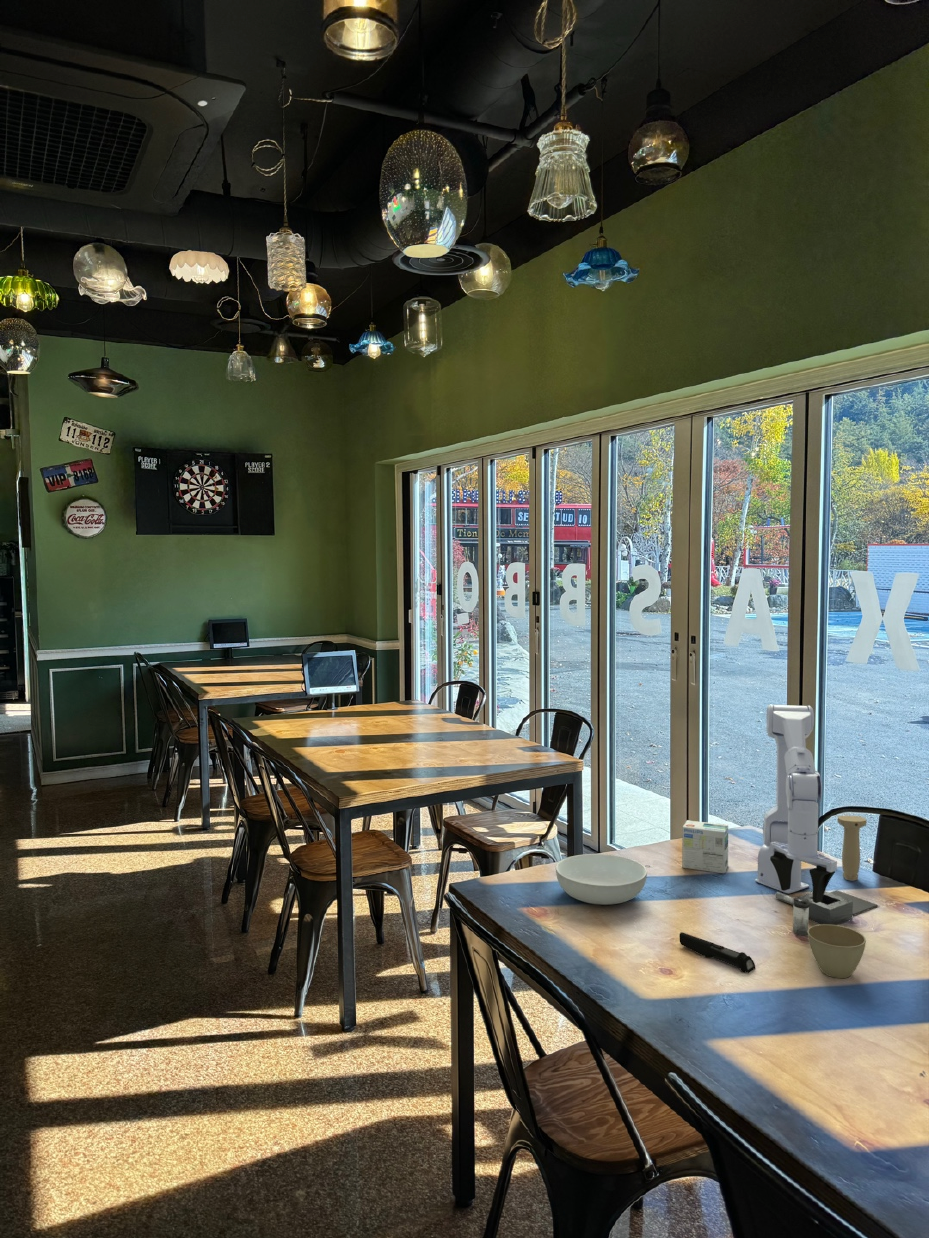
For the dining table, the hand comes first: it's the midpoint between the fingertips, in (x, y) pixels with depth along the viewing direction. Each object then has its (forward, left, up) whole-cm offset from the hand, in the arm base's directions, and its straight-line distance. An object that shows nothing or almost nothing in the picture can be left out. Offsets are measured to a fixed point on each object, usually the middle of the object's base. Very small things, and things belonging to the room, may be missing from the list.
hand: (801, 895), depth 173 cm
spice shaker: (0, 0, -8) cm, 8 cm away
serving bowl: (-37, -22, -8) cm, 44 cm away
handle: (-12, +36, -8) cm, 39 cm away
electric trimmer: (-2, -23, -9) cm, 25 cm away
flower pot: (+14, -9, -8) cm, 18 cm away
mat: (-4, +22, -8) cm, 23 cm away
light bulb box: (-37, +13, -8) cm, 40 cm away
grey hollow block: (-6, +11, -8) cm, 15 cm away
